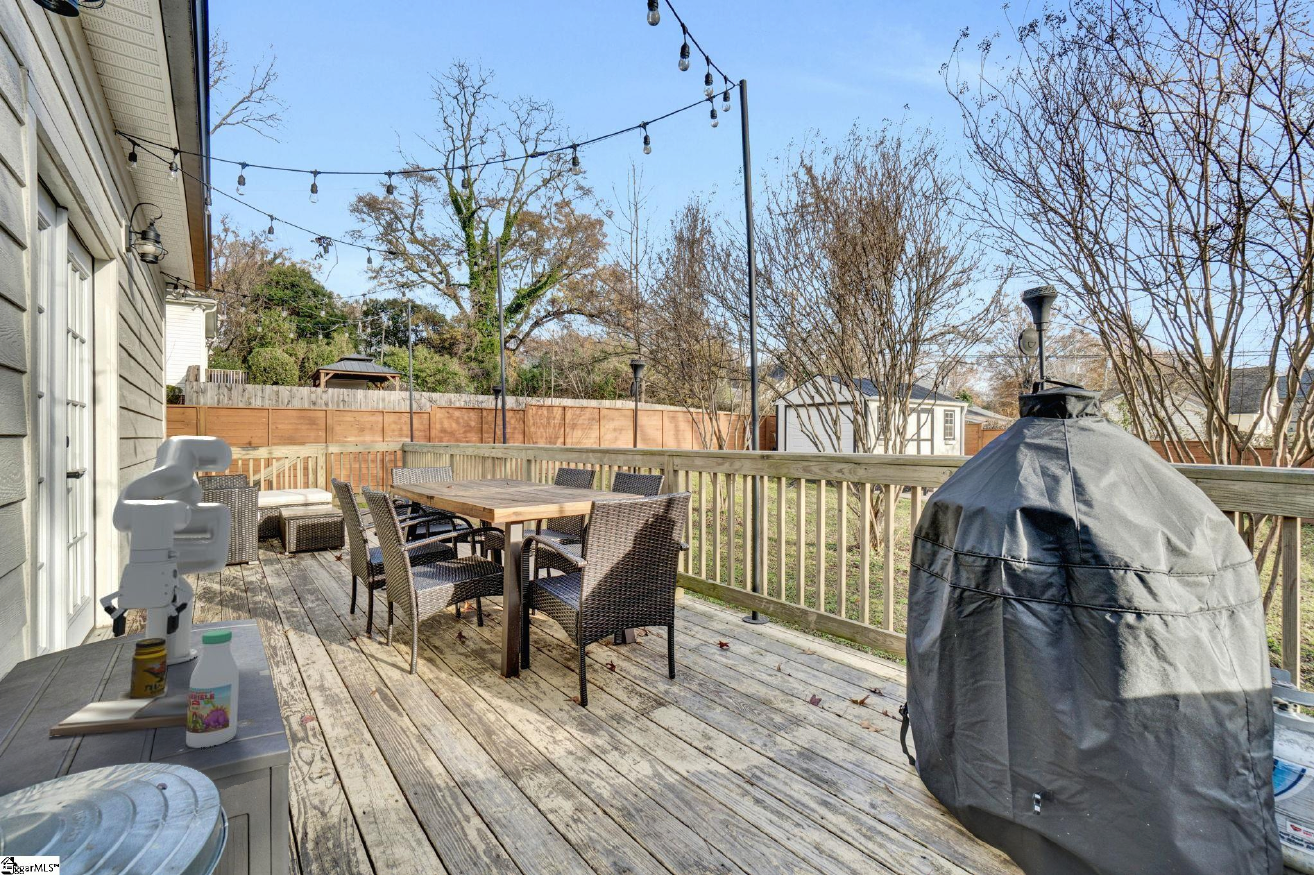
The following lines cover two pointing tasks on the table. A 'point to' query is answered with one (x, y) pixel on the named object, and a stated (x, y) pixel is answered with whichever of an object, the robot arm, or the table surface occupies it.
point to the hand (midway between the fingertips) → (145, 634)
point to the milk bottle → (213, 693)
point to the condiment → (147, 670)
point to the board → (125, 715)
